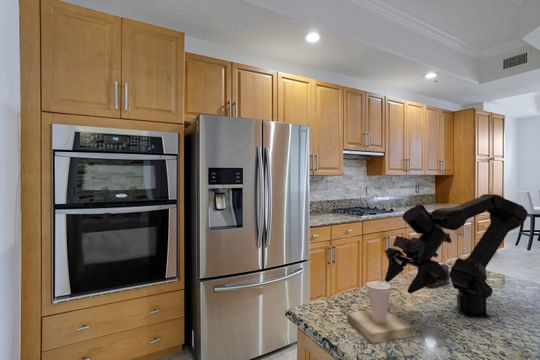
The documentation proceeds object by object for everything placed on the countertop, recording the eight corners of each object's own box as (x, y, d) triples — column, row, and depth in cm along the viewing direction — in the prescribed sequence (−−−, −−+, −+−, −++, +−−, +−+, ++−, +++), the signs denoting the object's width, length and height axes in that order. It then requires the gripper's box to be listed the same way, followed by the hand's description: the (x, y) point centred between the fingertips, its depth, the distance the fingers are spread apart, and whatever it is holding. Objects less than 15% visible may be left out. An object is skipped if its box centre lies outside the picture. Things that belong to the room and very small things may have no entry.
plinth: (383, 316, 86) (382, 307, 86) (412, 336, 74) (412, 326, 74) (347, 321, 82) (347, 313, 83) (372, 344, 71) (372, 333, 71)
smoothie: (397, 324, 75) (395, 271, 76) (375, 327, 74) (374, 273, 74) (382, 313, 82) (381, 264, 82) (362, 316, 80) (361, 266, 81)
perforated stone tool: (431, 290, 105) (431, 271, 105) (418, 286, 110) (417, 268, 110) (454, 283, 112) (453, 265, 112) (440, 279, 117) (440, 262, 117)
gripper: (389, 222, 91) (359, 260, 88) (437, 230, 73) (402, 279, 70) (410, 244, 93) (382, 282, 90) (462, 258, 75) (429, 306, 72)
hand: (396, 286), depth 80 cm, fingers open, 9 cm apart
